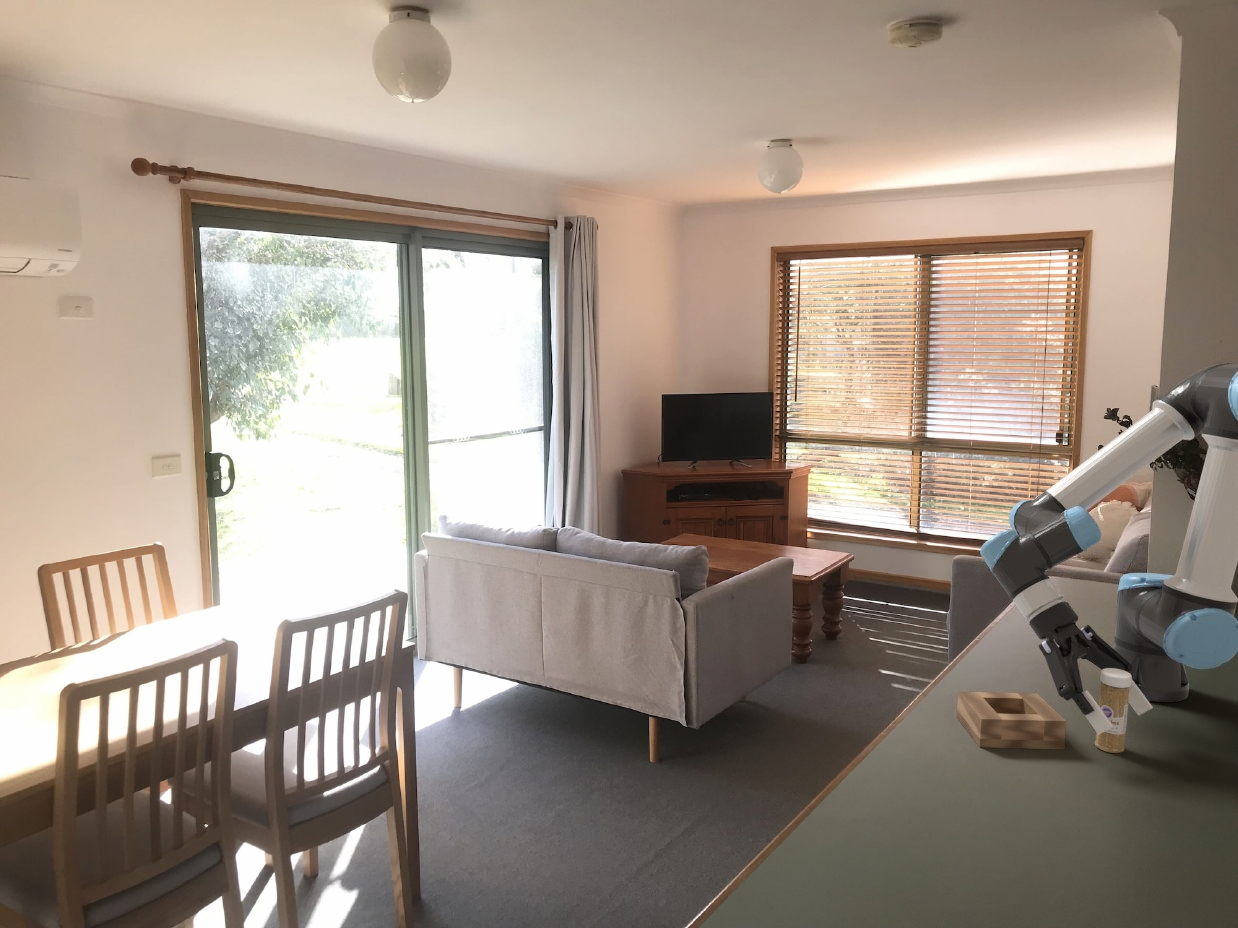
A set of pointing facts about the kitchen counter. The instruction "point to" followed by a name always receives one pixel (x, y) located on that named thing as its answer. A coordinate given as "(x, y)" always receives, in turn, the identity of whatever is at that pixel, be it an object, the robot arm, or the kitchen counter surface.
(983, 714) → the brown wooden square frame
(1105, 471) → the robot arm
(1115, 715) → the sprinkles bottle
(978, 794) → the kitchen counter surface
